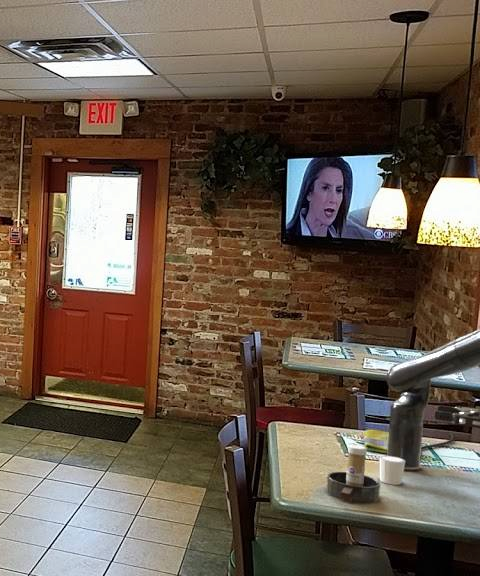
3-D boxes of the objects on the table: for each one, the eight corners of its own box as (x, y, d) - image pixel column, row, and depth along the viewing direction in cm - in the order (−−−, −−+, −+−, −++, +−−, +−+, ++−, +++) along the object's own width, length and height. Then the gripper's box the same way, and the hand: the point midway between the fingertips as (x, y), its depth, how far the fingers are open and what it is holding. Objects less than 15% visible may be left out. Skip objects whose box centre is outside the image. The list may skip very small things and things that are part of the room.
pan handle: (344, 499, 212) (345, 486, 211) (352, 501, 210) (353, 488, 210) (339, 506, 207) (340, 492, 206) (348, 508, 205) (349, 493, 205)
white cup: (394, 486, 224) (396, 463, 224) (372, 479, 230) (374, 456, 230) (408, 483, 227) (410, 460, 227) (386, 476, 234) (388, 454, 233)
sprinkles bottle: (343, 493, 215) (346, 446, 214) (347, 489, 219) (350, 443, 218) (360, 497, 212) (364, 449, 211) (364, 493, 216) (368, 446, 215)
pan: (331, 483, 225) (332, 468, 225) (382, 494, 217) (383, 478, 217) (322, 495, 214) (323, 480, 214) (374, 507, 207) (376, 490, 206)
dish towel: (362, 450, 261) (362, 442, 261) (364, 434, 282) (364, 427, 282) (421, 459, 253) (422, 451, 252) (418, 442, 274) (419, 434, 274)
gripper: (511, 403, 203) (439, 394, 213) (510, 413, 192) (435, 402, 201) (508, 431, 204) (437, 420, 213) (507, 442, 192) (432, 430, 202)
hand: (436, 412), depth 207 cm, fingers open, 8 cm apart
